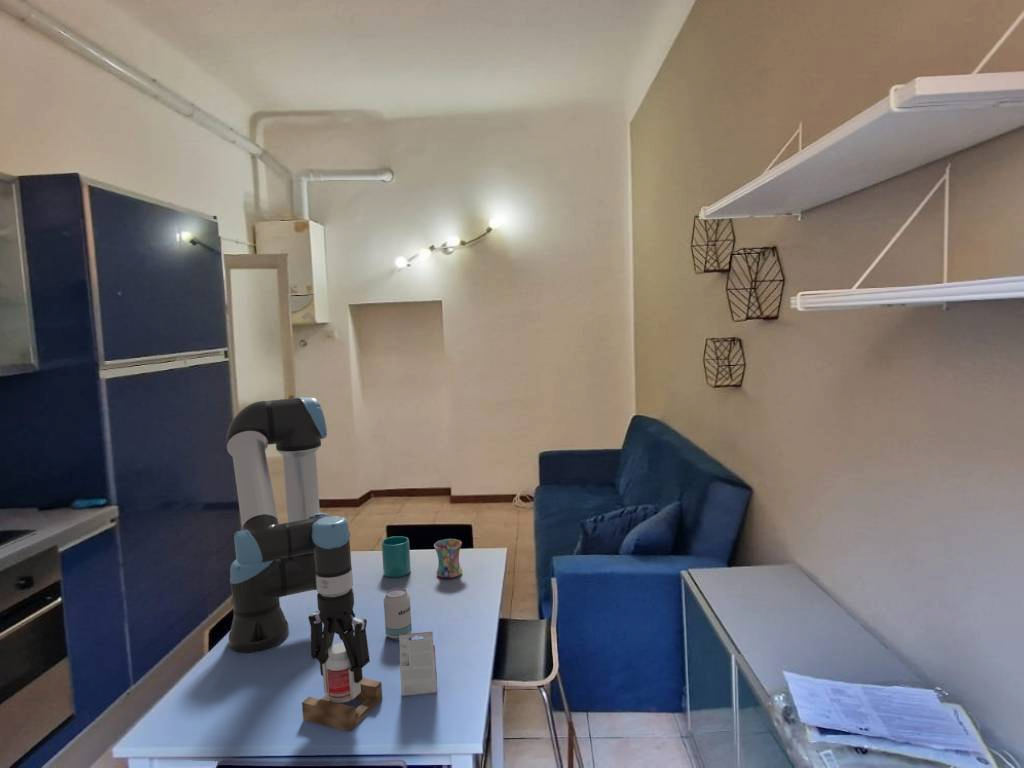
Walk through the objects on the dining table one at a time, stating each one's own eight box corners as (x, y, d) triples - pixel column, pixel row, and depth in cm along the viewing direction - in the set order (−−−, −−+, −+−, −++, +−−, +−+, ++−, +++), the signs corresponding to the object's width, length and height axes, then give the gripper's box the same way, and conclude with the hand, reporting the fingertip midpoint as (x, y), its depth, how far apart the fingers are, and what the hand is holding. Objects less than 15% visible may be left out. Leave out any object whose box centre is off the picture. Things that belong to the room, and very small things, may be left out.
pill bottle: (361, 697, 135) (358, 649, 134) (333, 708, 131) (329, 658, 130) (351, 684, 140) (348, 637, 139) (324, 694, 136) (320, 646, 135)
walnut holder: (303, 720, 133) (301, 702, 132) (338, 688, 144) (337, 672, 143) (349, 731, 128) (348, 713, 128) (382, 698, 139) (381, 681, 139)
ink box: (402, 687, 143) (398, 627, 142) (437, 684, 144) (434, 624, 142) (401, 697, 139) (397, 635, 138) (437, 693, 140) (433, 632, 139)
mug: (435, 570, 211) (433, 540, 210) (462, 568, 212) (461, 537, 211) (435, 584, 199) (433, 552, 198) (464, 582, 200) (462, 550, 199)
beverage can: (400, 643, 163) (398, 599, 162) (380, 638, 166) (377, 595, 165) (417, 631, 169) (414, 589, 168) (397, 626, 172) (394, 585, 171)
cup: (415, 564, 217) (414, 533, 216) (406, 578, 205) (404, 545, 204) (390, 564, 218) (388, 533, 217) (380, 578, 206) (378, 545, 205)
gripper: (287, 592, 133) (295, 694, 136) (362, 603, 126) (369, 710, 128) (310, 578, 140) (318, 675, 143) (382, 588, 133) (389, 690, 135)
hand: (342, 692), depth 135 cm, fingers closed on pill bottle, 6 cm apart
